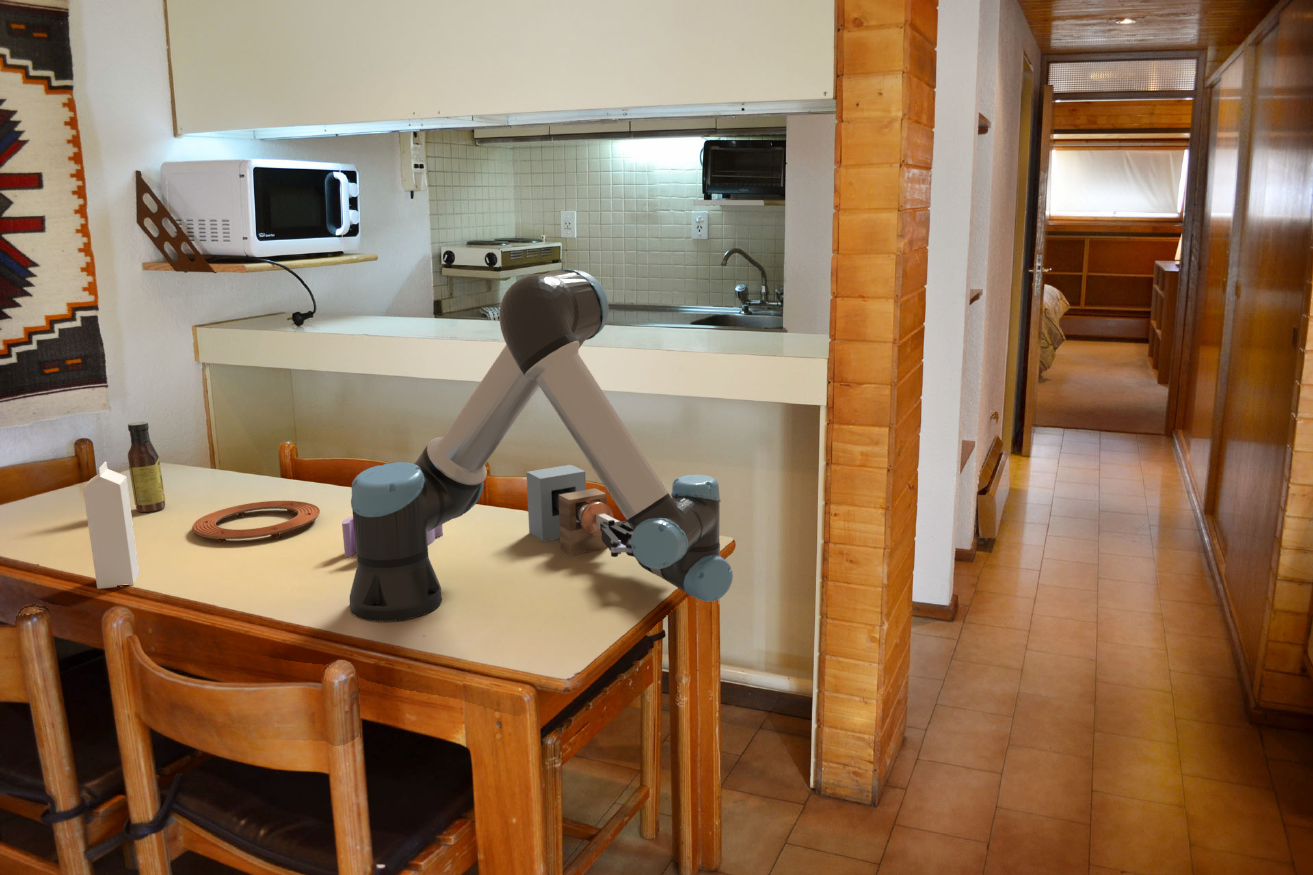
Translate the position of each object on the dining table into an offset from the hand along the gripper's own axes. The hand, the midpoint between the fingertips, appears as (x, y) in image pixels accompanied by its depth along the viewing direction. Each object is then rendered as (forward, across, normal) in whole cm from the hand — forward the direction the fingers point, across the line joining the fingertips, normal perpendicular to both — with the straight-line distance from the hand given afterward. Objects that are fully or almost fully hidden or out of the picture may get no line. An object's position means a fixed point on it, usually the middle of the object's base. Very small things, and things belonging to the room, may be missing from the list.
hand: (599, 520), depth 196 cm
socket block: (+18, 0, -7) cm, 20 cm away
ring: (+58, -51, -8) cm, 78 cm away
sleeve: (+7, 0, -7) cm, 10 cm away
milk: (+38, -79, -8) cm, 88 cm away
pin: (+9, 0, -3) cm, 10 cm away
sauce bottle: (+85, -69, -8) cm, 110 cm away
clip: (+30, -31, -8) cm, 44 cm away
